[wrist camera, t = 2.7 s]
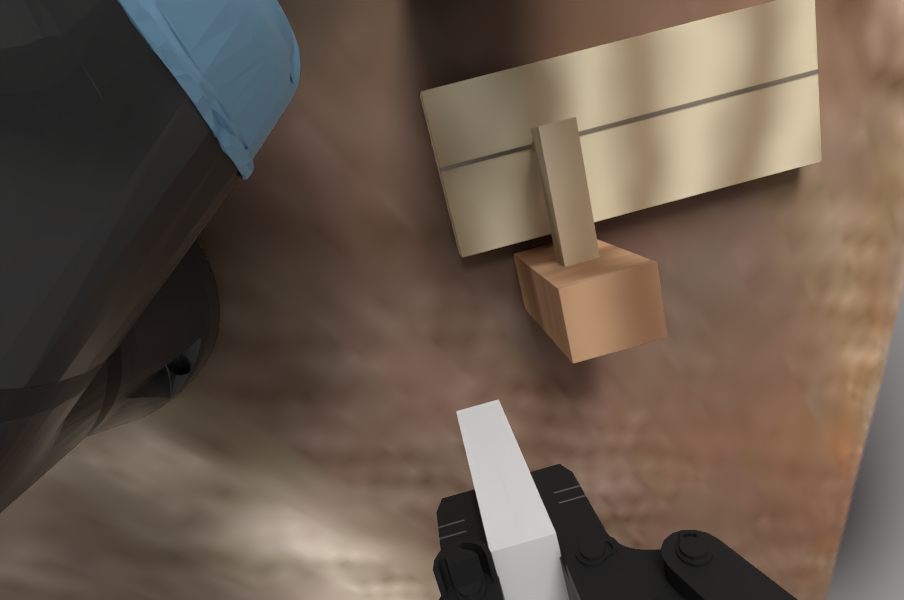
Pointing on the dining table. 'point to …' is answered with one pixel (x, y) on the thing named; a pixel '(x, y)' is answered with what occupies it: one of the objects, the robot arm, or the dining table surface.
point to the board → (632, 120)
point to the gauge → (584, 264)
